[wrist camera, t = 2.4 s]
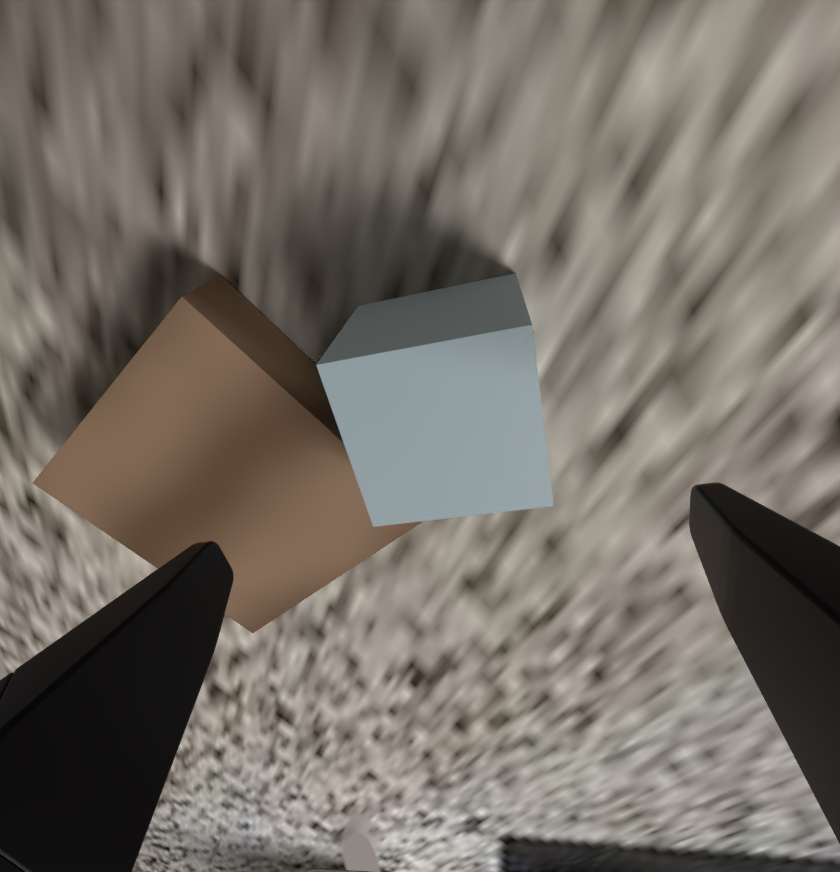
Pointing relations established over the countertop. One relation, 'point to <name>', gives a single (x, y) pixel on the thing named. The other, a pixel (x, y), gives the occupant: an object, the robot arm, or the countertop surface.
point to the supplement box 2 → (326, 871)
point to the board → (222, 458)
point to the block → (441, 403)
